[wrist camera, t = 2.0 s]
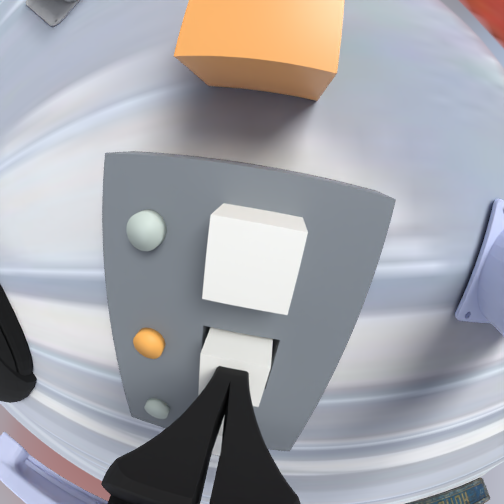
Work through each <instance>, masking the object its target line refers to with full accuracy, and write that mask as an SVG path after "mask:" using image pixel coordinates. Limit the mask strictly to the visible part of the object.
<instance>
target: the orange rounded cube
mask: <svg viewBox="0 0 504 504" xmlns="http://www.w3.org/2000/svg"><path fill="white" fill-rule="evenodd" d="M344 1H345V0H189V2H188V6H187V9H186V12H185V15H184V19H183V22H182V26H181V29H180V33H179V37H178V41H177V44H176V48H175V53H174V57H175V58H177V59H178V60H179V61H180V62H181V63H183V64H184V65H185V66H186V67H187V68H189V69H190V70H191V71H192V72H193V73H194V74H196V75H197V76H198V77H199V78H200V79H201V80H202V81H204V82H205V83H206V84H207V85H208V86H217V87H230V88H241V89H250V90H258V91H265V92H272V93H279V94H285V95H290V96H296V97H301V98H306V99H311V100H315V101H317V100H318V99H319V98H320V96H321V95H322V93H323V92H324V91H325V89H326V88H327V86H328V85H329V84H330V82H331V81H332V79H333V78H334V77H335V75H336V74H337V68H338V60H339V52H340V43H341V34H342V24H343V13H344Z"/></svg>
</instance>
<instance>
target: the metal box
mask: <svg viewBox="0 0 504 504" xmlns="http://www.w3.org/2000/svg"><path fill="white" fill-rule="evenodd" d="M489 499H490V496H489V494H488V491H487V488H486V486H485V484H484V481H483V479H482V478H479V479H476V480H474V481H472V482H470V483H467V484H465V485H463V486H460V487H458V488H455V489H452V490H450V491H447V492H444V493H441V494H438V495H434V496H431V497H428V498H424V499H421V500H417V501H414V502H410V503H406V504H484V503H485V502H487V501H488V500H489Z"/></svg>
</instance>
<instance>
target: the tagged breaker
mask: <svg viewBox="0 0 504 504" xmlns="http://www.w3.org/2000/svg"><path fill="white" fill-rule="evenodd" d="M272 343H273V339H271V338H265V337H259V336H253V335H248V334H243V333H237V332H232V331H227V330H223V329H218V328H213V327H210V330H209V333H208V335H207V338H206V340H205V343H204V346H203V348H202V351H201V354H200V371H199V391H198V395H200V393H201V392H202V391H203V389H204V388H205V387H206V385H207V384H208V382H209V381H210V379H211V378H212V376H213V374H214V372H215V370H216V368H217V367H218V366H223V367H227V368H232V369H238V370H243V371H247V372H248V373H249V388H250V395H251V400H252V405H253V406H255V407H259V404H260V401H261V398H262V395H263V391H264V388H265V385H266V382H267V378H268V375H269V372H270V368H271V359H272Z"/></svg>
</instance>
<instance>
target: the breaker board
mask: <svg viewBox="0 0 504 504" xmlns="http://www.w3.org/2000/svg"><path fill="white" fill-rule="evenodd" d="M395 201H396V199H394V198H391V197H389V196H387V195H385V194H382V193H380V192H378V191H375V190H371V189H368V188H364V187H360V186H356V185H352V184H348V183H344V182H340V181H336V180H331V179H327V178H323V177H318V176H314V175H309V174H304V173H299V172H294V171H289V170H284V169H278V168H273V167H267V166H261V165H255V164H249V163H242V162H235V161H228V160H221V159H213V158H205V157H196V156H186V155H176V154H164V153H151V152H135V151H131V152H113V153H105V162H104V177H103V207H102V223H103V254H104V269H105V281H106V291H107V300H108V308H109V315H110V322H111V328H112V335H113V340H114V346H115V351H116V356H117V361H118V365H119V370H120V374H121V379H122V383H123V387H124V391H125V394H126V398H127V402H128V405H129V409H130V412H131V416H132V417H135V418H137V419H140V420H143V421H146V422H149V423H152V424H155V425H158V426H161V427H164V428H167V427H169V426H170V425H171V424H172V423H173V422H174V421H175V420H177V419H178V418H179V417H180V416H181V415H182V414H183V413H184V412H185V411H186V410H187V409H188V407H189V406H190V405H191V404H192V403H193V402H194V401H195V400H196V398H197V397H198V396H199V395H198V391H199V371H200V354H201V351H202V348H203V346H204V343H205V340H206V338H207V335H208V333H209V330H210V327H213V328H218V329H223V330H227V331H232V332H237V333H243V334H248V335H253V336H259V337H265V338H271V339H273V343H272V359H271V368H270V372H269V375H268V378H267V382H266V385H265V388H264V391H263V395H262V398H261V401H260V404H259V407H255V406H253V409H254V413H255V417H256V420H257V423H258V426H259V429H260V432H261V435H262V437H263V440H264V442H265V444H266V446H267V449H271V450H281V451H290V450H291V448H292V446H293V445H294V443H295V442H296V440H297V438H298V437H299V435H300V434H301V432H302V430H303V429H304V427H305V425H306V423H307V422H308V420H309V418H310V417H311V415H312V413H313V411H314V409H315V408H316V406H317V404H318V402H319V400H320V398H321V397H322V395H323V393H324V391H325V389H326V387H327V385H328V383H329V381H330V379H331V377H332V375H333V373H334V371H335V369H336V367H337V365H338V363H339V360H340V358H341V356H342V354H343V352H344V350H345V347H346V345H347V343H348V341H349V338H350V336H351V334H352V331H353V329H354V326H355V324H356V322H357V319H358V317H359V314H360V312H361V309H362V306H363V304H364V301H365V299H366V296H367V293H368V290H369V288H370V285H371V282H372V279H373V276H374V273H375V270H376V267H377V264H378V261H379V258H380V255H381V252H382V248H383V245H384V242H385V238H386V235H387V231H388V228H389V224H390V221H391V217H392V213H393V209H394V205H395ZM224 416H225V415H224ZM223 425H224V418H223V421H222V424H221V427H220V430H219V433H218V436H217V439H216V442H215V445H214V448H213V451H212V455H216V456H220V453H221V444H222V435H223Z"/></svg>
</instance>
